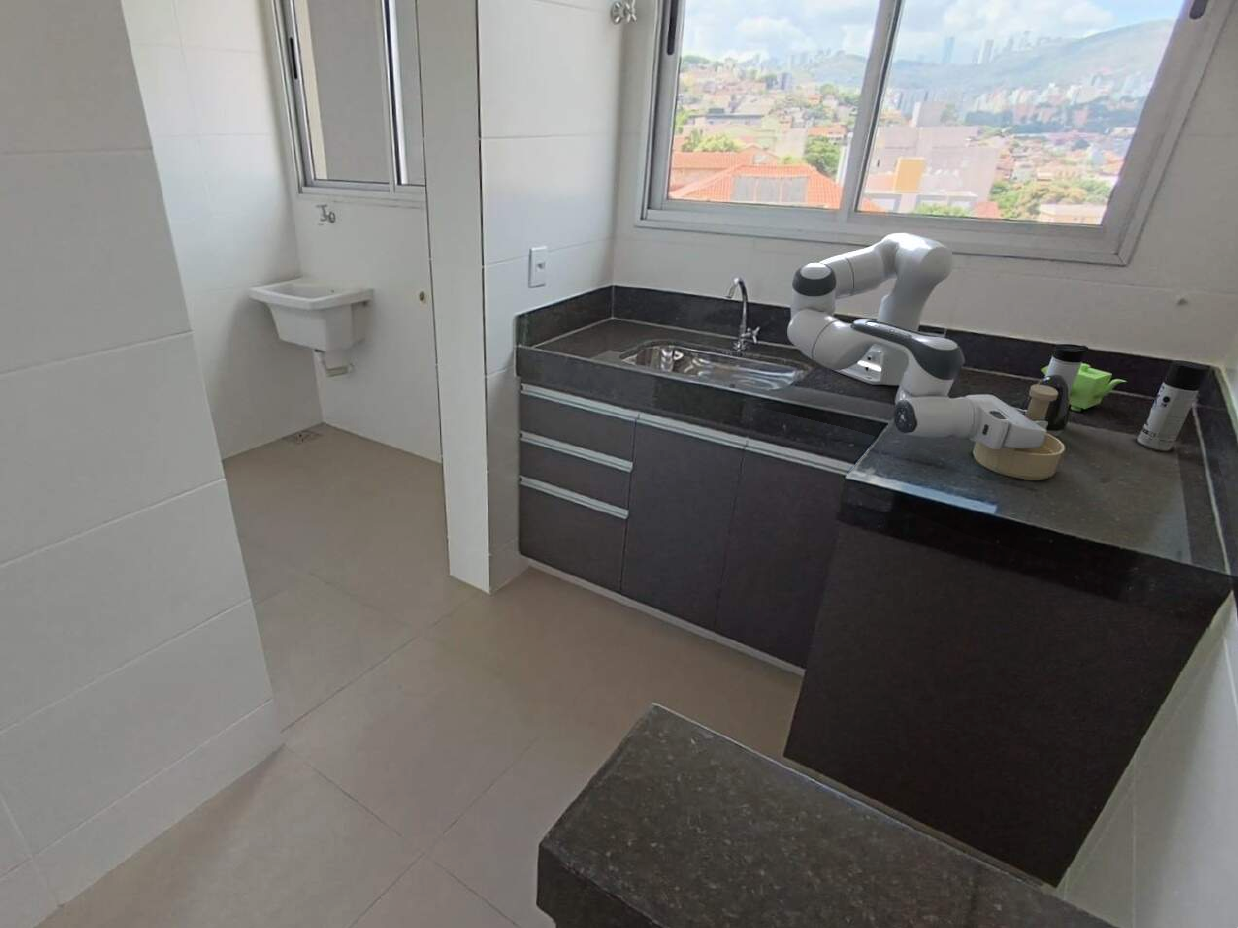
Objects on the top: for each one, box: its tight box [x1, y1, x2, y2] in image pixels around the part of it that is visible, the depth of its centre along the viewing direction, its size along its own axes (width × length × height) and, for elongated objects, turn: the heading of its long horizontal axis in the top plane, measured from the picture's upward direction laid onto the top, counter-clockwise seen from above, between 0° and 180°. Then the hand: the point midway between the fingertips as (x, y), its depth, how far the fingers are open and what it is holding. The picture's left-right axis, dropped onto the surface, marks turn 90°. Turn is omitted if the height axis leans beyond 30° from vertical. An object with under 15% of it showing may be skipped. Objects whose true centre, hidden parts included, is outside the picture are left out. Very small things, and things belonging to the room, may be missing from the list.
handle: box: [1014, 384, 1058, 453], centre depth 142 cm, size 5×6×15 cm
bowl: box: [972, 433, 1066, 481], centre depth 145 cm, size 16×16×6 cm
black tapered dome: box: [1019, 375, 1071, 438], centre depth 158 cm, size 10×10×15 cm
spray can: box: [1137, 359, 1209, 452], centre depth 155 cm, size 7×7×20 cm
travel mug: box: [1044, 343, 1089, 393], centre depth 164 cm, size 6×7×20 cm
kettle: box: [1040, 362, 1127, 412], centre depth 179 cm, size 15×14×11 cm
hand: (1037, 419), depth 142 cm, fingers closed on handle, 3 cm apart
